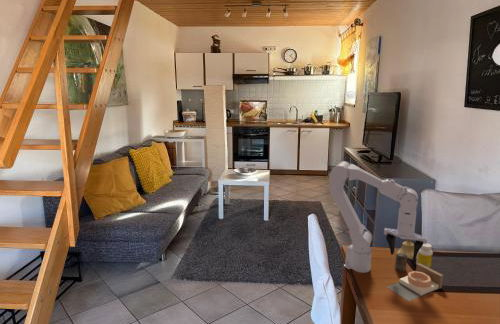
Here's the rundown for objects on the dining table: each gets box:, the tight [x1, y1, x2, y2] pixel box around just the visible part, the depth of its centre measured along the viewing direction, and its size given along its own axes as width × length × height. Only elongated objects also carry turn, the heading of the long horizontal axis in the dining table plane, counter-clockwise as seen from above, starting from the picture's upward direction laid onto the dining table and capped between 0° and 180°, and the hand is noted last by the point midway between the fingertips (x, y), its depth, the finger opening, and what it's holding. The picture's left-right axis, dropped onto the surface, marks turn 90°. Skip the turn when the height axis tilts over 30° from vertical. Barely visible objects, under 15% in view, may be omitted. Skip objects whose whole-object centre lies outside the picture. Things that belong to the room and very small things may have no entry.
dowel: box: [394, 252, 408, 273], centre depth 132 cm, size 4×4×7 cm
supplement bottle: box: [415, 242, 434, 269], centre depth 135 cm, size 5×5×10 cm
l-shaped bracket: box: [386, 263, 444, 302], centre depth 120 cm, size 10×17×6 cm, turn 117°
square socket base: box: [398, 270, 439, 296], centre depth 121 cm, size 9×9×4 cm
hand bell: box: [396, 239, 417, 260], centre depth 144 cm, size 8×8×16 cm
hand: (403, 256), depth 126 cm, fingers open, 7 cm apart
